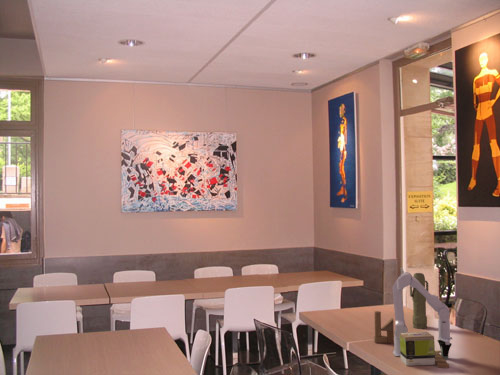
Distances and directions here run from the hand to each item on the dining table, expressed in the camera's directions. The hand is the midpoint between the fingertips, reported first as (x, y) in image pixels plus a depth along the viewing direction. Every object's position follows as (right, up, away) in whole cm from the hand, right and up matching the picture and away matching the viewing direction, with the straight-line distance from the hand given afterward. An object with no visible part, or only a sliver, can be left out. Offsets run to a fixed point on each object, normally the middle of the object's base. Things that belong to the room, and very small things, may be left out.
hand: (444, 355), depth 291 cm
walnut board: (-5, -2, -4) cm, 7 cm away
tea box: (-17, -2, -7) cm, 18 cm away
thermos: (+8, -3, +69) cm, 69 cm away
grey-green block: (-2, -2, 0) cm, 3 cm away
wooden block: (-24, -3, +33) cm, 41 cm away
